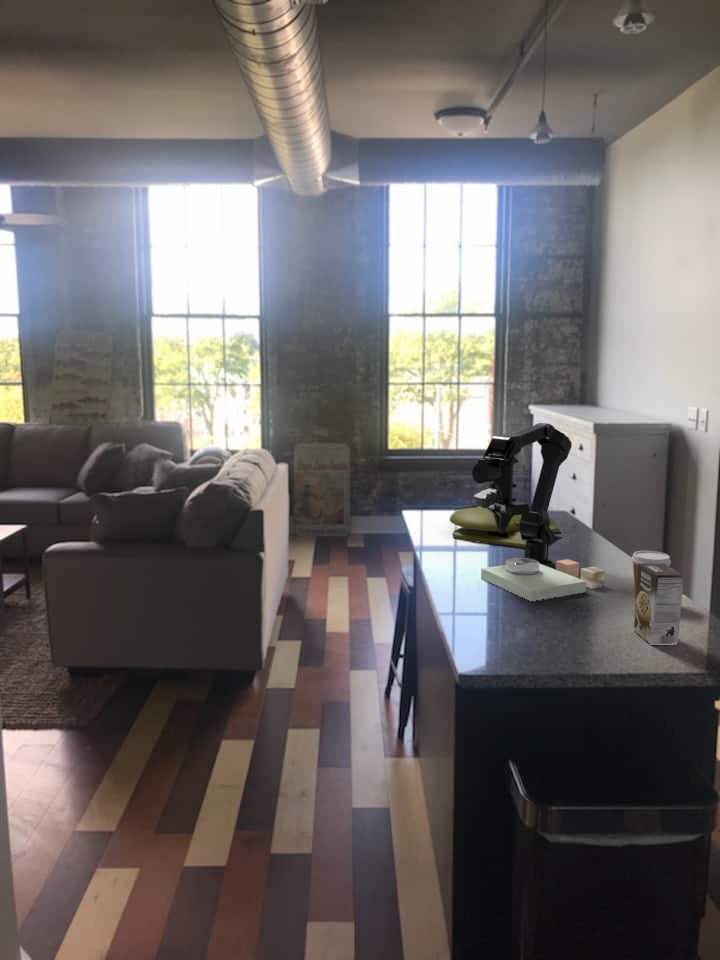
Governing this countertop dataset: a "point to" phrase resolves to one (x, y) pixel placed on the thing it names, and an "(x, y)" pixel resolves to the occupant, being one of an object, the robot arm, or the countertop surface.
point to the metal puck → (522, 566)
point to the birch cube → (593, 577)
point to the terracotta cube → (568, 567)
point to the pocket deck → (535, 582)
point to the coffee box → (658, 603)
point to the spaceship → (489, 527)
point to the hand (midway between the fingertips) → (501, 533)
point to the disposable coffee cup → (647, 561)
